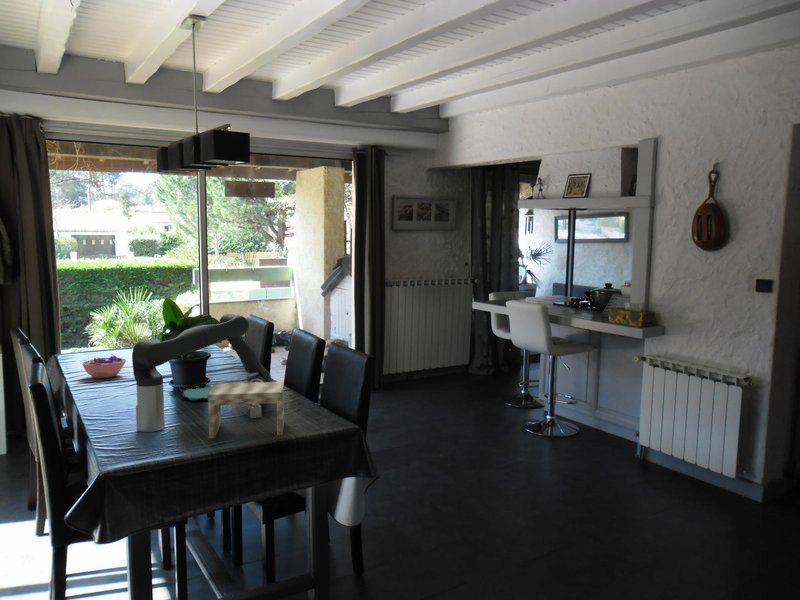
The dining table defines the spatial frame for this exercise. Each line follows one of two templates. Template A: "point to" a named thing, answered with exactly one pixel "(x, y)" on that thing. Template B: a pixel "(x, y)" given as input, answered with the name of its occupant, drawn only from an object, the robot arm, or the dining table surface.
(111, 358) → the cell model
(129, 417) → the dining table surface
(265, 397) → the small wooden stool
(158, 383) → the robot arm
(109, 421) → the dining table surface
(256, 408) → the lighter
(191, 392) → the teal flat tray
